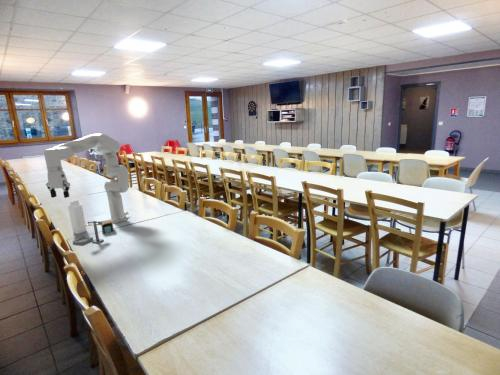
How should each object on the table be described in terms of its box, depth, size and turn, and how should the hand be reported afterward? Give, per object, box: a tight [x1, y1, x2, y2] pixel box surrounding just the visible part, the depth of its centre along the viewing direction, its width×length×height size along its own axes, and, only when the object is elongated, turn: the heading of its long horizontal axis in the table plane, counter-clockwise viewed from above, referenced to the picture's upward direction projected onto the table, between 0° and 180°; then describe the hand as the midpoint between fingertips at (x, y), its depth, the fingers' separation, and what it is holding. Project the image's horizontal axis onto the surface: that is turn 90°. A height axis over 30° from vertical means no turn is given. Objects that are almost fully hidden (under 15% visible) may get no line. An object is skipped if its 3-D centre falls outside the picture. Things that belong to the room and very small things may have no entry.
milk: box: [67, 200, 88, 235], centre depth 209 cm, size 6×6×22 cm
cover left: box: [100, 218, 115, 235], centre depth 209 cm, size 7×7×7 cm
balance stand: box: [91, 223, 104, 244], centre depth 190 cm, size 5×4×12 cm
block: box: [104, 225, 112, 234], centre depth 209 cm, size 4×4×4 cm
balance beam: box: [84, 220, 104, 227], centre depth 189 cm, size 4×13×2 cm, turn 161°
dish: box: [72, 236, 94, 246], centre depth 193 cm, size 8×8×2 cm
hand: (60, 197), depth 185 cm, fingers open, 9 cm apart
